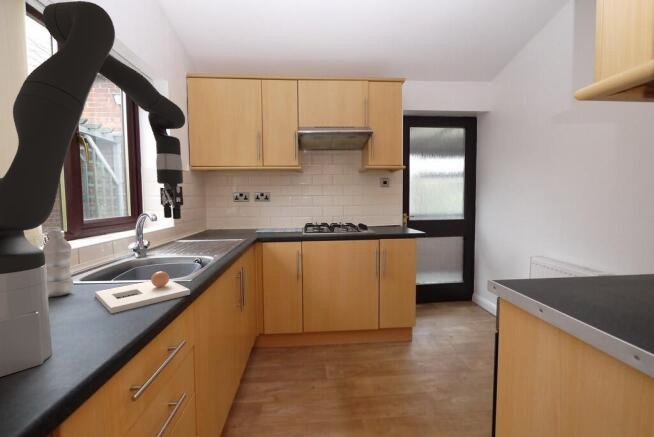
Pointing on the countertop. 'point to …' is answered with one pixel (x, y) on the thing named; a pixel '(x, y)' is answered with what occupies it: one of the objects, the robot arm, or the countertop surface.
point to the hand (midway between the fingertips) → (172, 218)
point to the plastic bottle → (58, 264)
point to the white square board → (139, 295)
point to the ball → (160, 279)
